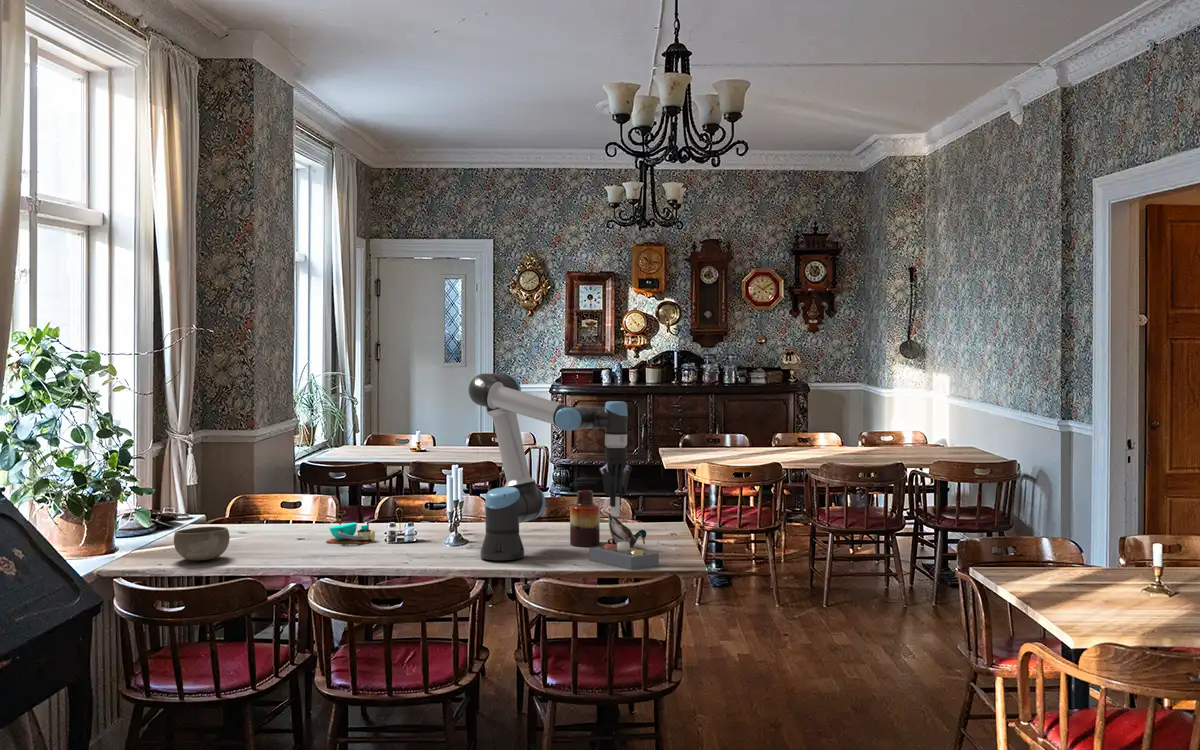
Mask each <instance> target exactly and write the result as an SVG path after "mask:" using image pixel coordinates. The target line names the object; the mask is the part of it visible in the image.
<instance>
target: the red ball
mask: <svg viewBox="0 0 1200 750" xmlns="http://www.w3.org/2000/svg"><path fill="white" fill-rule="evenodd" d="M616 545H617V544H616ZM616 545H615V544H612V543H611V544H608V543H605V544H604V545H603V546H604V549H607V550H613V549H616Z"/></svg>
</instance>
